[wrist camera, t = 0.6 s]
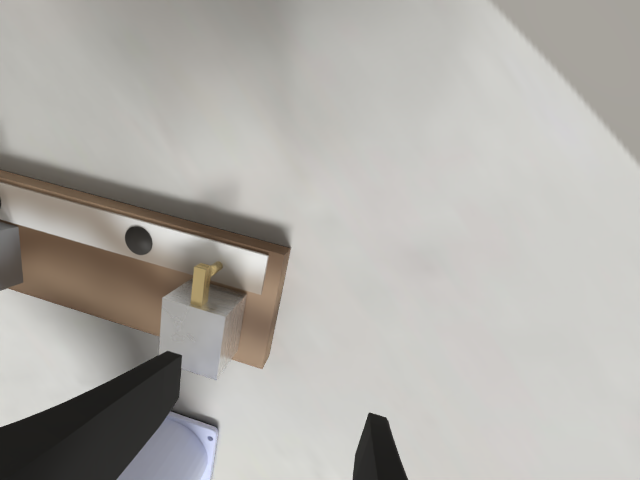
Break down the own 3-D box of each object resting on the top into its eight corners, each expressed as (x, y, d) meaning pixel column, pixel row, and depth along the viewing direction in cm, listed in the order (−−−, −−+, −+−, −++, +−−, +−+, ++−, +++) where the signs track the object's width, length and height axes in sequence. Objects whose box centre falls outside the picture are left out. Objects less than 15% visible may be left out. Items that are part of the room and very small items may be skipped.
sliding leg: (237, 350, 21) (216, 380, 18) (186, 334, 22) (158, 361, 19) (251, 261, 19) (230, 279, 16) (195, 245, 20) (164, 260, 17)
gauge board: (269, 355, 23) (245, 401, 19) (-16, 267, 25) (-95, 288, 21) (290, 248, 20) (268, 272, 16) (-30, 161, 23) (-123, 162, 19)
